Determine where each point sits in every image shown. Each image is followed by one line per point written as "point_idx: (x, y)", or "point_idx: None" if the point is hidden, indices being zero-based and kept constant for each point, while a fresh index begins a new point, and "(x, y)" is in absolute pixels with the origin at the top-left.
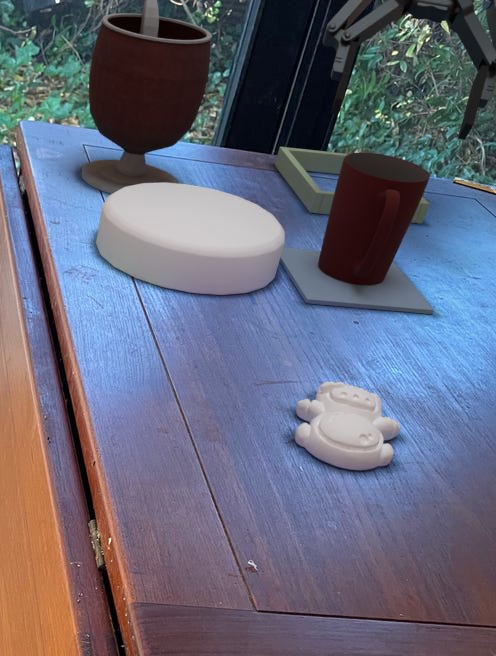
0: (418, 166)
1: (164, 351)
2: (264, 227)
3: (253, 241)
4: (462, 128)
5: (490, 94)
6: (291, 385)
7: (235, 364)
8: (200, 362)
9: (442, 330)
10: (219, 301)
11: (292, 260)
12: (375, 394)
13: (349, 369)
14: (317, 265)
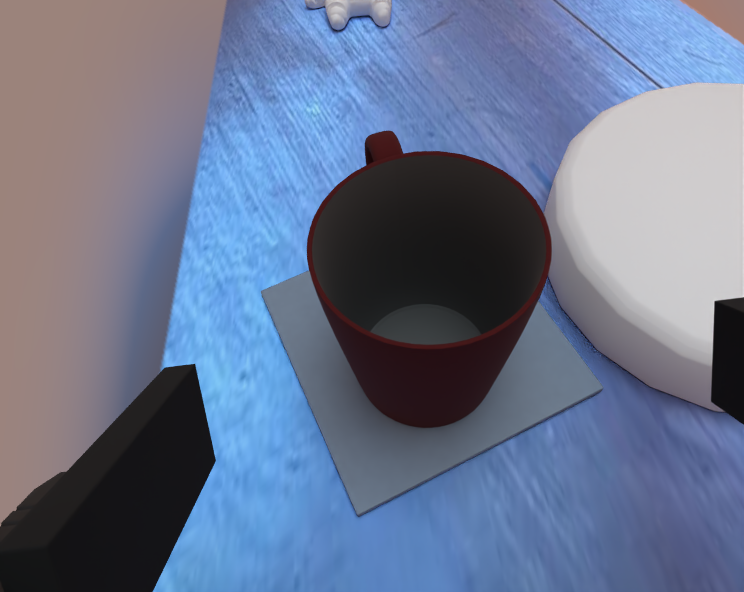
0: (342, 314)
1: (566, 16)
2: (611, 219)
3: (595, 149)
4: (202, 420)
5: (39, 492)
6: (420, 29)
7: (488, 32)
8: (522, 18)
9: (248, 249)
10: None
11: (542, 338)
12: (333, 7)
13: (368, 85)
14: None
